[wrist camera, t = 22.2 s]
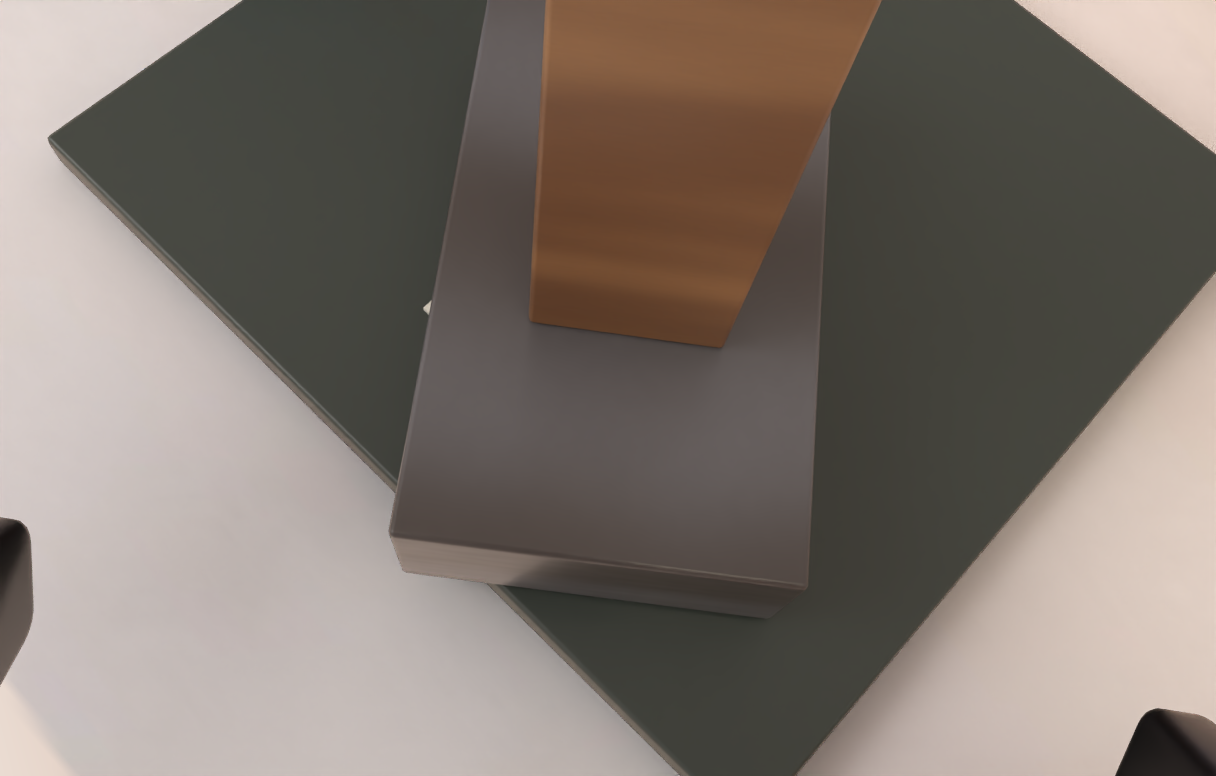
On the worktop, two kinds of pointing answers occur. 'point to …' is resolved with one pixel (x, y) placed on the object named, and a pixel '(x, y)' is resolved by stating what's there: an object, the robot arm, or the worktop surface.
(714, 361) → the duster
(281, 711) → the worktop surface
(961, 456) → the slate board
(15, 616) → the robot arm
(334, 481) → the worktop surface
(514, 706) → the worktop surface
